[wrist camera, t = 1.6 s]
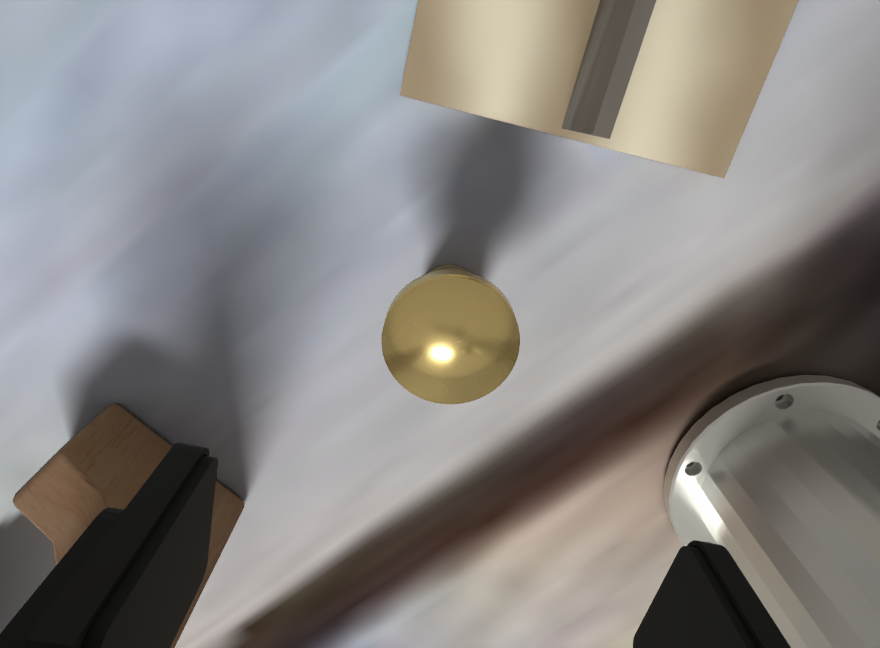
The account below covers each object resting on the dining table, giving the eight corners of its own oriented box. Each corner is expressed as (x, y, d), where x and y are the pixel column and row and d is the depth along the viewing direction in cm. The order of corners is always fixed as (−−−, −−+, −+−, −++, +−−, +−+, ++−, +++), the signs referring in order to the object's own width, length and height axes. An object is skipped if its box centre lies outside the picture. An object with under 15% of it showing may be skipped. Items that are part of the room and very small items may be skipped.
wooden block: (67, 447, 29) (-425, 893, 13) (116, 397, 28) (-353, 818, 12) (199, 543, 32) (-68, 1023, 15) (249, 501, 31) (19, 972, 14)
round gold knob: (516, 253, 25) (537, 295, 20) (487, 352, 27) (498, 415, 22) (407, 227, 25) (396, 263, 19) (385, 330, 27) (369, 388, 21)
